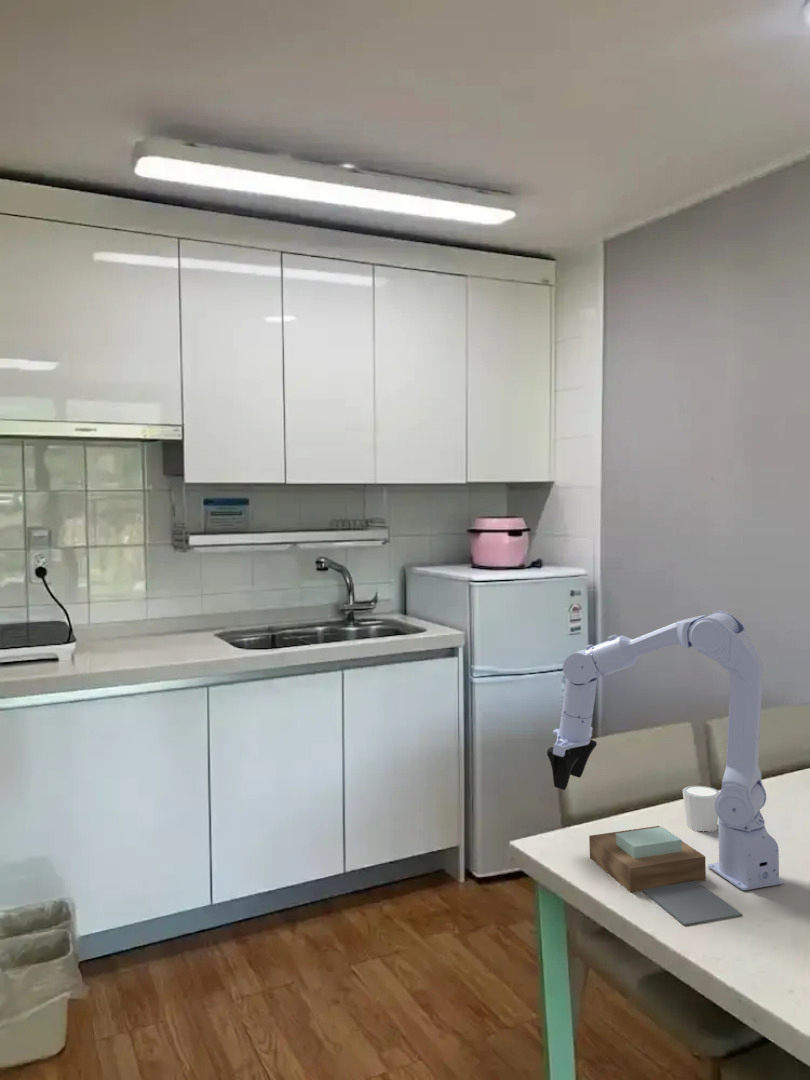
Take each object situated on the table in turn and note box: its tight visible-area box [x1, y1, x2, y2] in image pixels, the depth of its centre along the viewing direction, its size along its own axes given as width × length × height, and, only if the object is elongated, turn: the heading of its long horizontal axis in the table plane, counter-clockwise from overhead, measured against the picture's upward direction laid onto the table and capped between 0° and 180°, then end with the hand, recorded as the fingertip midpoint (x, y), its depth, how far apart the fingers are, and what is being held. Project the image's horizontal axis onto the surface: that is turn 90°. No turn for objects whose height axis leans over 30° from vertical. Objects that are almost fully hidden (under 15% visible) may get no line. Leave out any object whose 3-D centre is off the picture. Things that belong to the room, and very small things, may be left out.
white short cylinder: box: [682, 785, 721, 833], centre depth 161 cm, size 7×7×7 cm
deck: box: [588, 825, 707, 893], centre depth 143 cm, size 14×14×4 cm
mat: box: [641, 881, 743, 927], centre depth 131 cm, size 12×10×1 cm
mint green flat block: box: [616, 826, 683, 859], centre depth 142 cm, size 6×9×2 cm, turn 105°
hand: (567, 781), depth 158 cm, fingers open, 7 cm apart
